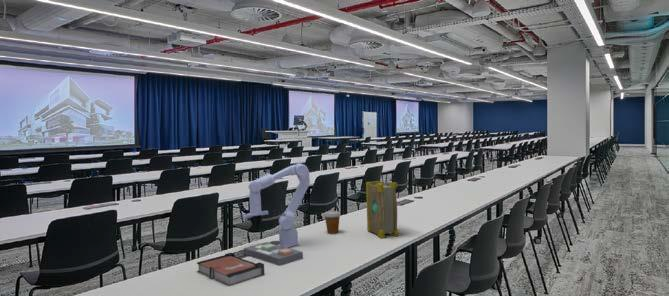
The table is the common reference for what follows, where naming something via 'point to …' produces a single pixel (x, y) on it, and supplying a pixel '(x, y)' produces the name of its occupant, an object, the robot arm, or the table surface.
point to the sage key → (268, 247)
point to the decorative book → (381, 208)
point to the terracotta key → (285, 252)
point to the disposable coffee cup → (332, 221)
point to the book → (230, 269)
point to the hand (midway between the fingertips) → (256, 230)
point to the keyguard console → (272, 254)
